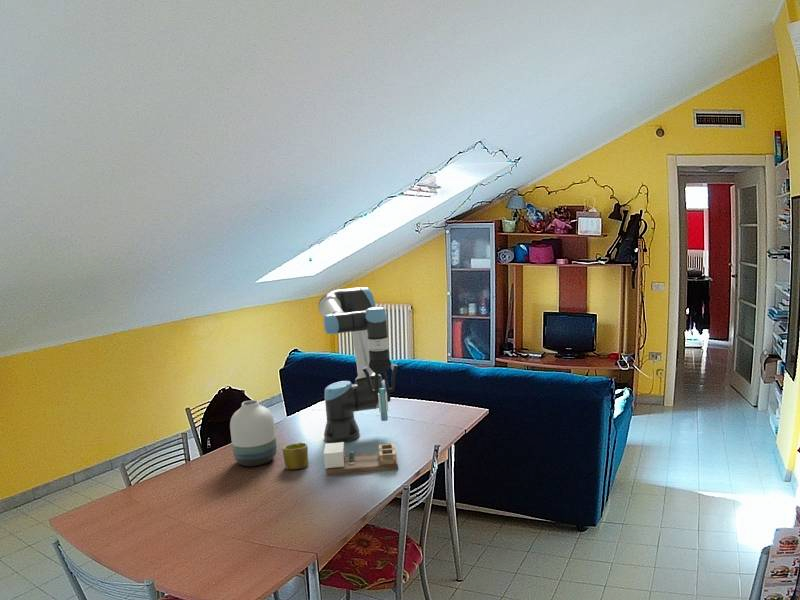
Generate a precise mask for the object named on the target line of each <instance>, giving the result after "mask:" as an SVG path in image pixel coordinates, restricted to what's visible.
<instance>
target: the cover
mask: <svg viewBox="0 0 800 600" xmlns="http://www.w3.org/2000/svg"><path fill="white" fill-rule="evenodd" d="M345 456H346V452H345V442H339V443H331V442H328V443H325V444H324V450H323V462H324V469H327V468H334V467H344V457H345Z"/></svg>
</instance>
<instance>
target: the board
mask: <svg viewBox="0 0 800 600" xmlns="http://www.w3.org/2000/svg"><path fill="white" fill-rule="evenodd" d="M395 446H396V445H395V442H394V443H382V444H378V451H379V452H368V453H361V454H360V453H357V454H355V451H353V450H352V451H349V452H348V455H347V454H345V457H344V467H334V468H326V476H327V477H331V476H333V477H334V476H342V475H352V474H353V475H354V474H363V473H374V472H383V471H384V472H385V471H387V472H388V471H395V470H397V471H398V470H399V461H398V460H399V459H398V455H397V454H398V453H397V450H396V447H395Z"/></svg>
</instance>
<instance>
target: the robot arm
mask: <svg viewBox="0 0 800 600" xmlns="http://www.w3.org/2000/svg"><path fill="white" fill-rule="evenodd" d="M317 305H318V311H319V312H320V314H321V315H322V316H323V328H324V332H325V334H327V335H336V334H342V333H344V334H345V333H351V334H352V340H353V341H352V342H353V349H354V357H355V363H356V370H357V371H356V373H357V377H356V378H355V379H354V383H352V382H351V381H350V380H341V381H337V382H333V383H331V384H329V385H327V386H326V387H325V388H324V398H323V399H324V401H325V402H324V403H325V413H326V423H325V428H324V433H323V438H324V441H326V442H328V443H339V442H344V443H348V442H353V441H355V440H357V439H359V437H360V435H361V433H360V428H359V425H358V423H357V422H356V418H355V413H356V412H360V411H369V410H377V409H378V411H379V412H380V413H381V400H380V394H379V389H380V388H385V390H386V394H385V401H386V411H387V412H389V402H391V393H392V392H393V393H394V392H395V387H396V374H397V371H398V368H399V366H398V365H397V364H394V363H392V362H391V359H390V349H389V337H388V335H389V334H388V323H387V321H388V320H387V313H386V308H385V307H383V306H376V302H375V299H374V296H373V293H372V291H371V289H370V288H369V287H367V286H365V287H363V286H362V287H361V286H358V287H351V288H342V289H338V288H337V289H334V290H331V291H329V292H327V293H325V294H324V295H322V296H321V298H320V300H319V301H318V304H317ZM389 369H391V370H392V371H391V382H390V383H391V387H390V385H389V380H388V379H389V378H388V374H387V373H388V371H389ZM381 374H383V377H382V375H381ZM354 412H355V413H354Z"/></svg>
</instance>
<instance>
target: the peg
mask: <svg viewBox="0 0 800 600" xmlns="http://www.w3.org/2000/svg"><path fill="white" fill-rule="evenodd" d="M379 394H380V400H381V412H380V420H381V422H386V421H389V419H388V417H389V416H388V411H386V401H385V394H386V390H385V388H380V389H379Z"/></svg>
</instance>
